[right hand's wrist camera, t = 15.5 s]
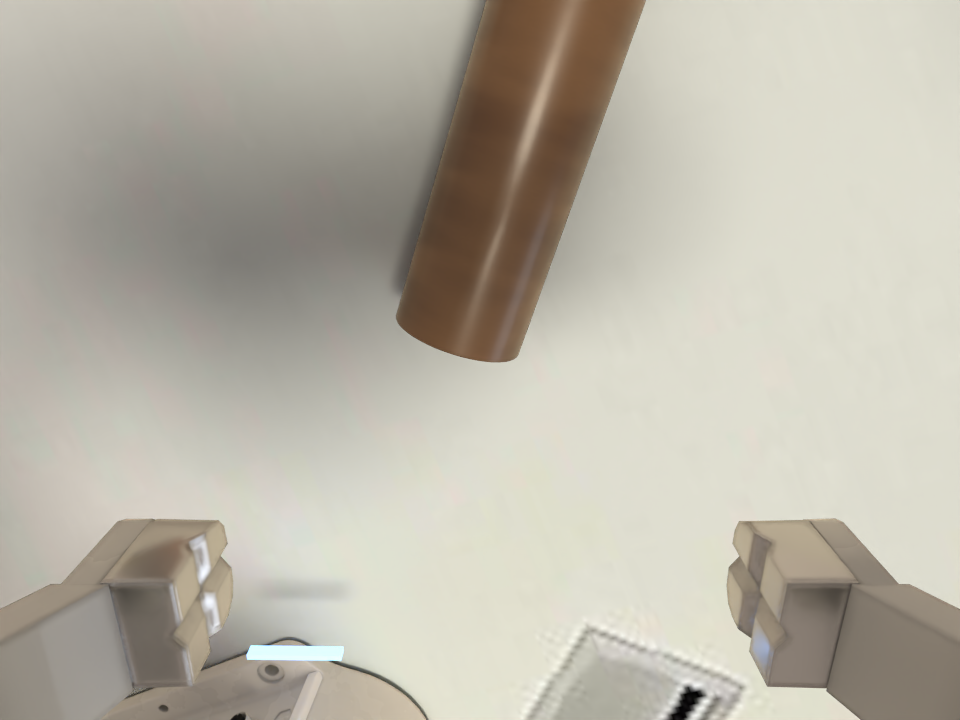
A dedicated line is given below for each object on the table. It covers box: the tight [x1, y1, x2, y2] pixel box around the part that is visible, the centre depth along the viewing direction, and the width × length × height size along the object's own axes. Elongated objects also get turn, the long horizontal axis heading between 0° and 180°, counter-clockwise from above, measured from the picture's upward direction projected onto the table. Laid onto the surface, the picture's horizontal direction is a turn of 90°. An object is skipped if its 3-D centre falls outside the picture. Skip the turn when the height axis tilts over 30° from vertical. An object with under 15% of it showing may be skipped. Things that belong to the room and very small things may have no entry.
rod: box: [396, 0, 646, 362], centre depth 28 cm, size 22×6×6 cm, turn 162°
